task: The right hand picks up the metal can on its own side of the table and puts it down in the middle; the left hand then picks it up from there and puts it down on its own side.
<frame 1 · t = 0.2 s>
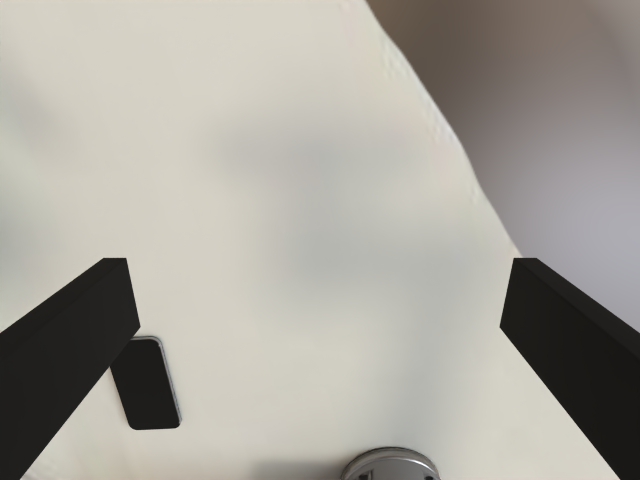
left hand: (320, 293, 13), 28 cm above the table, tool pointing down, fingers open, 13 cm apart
smartphone: (146, 382, 49), on the table
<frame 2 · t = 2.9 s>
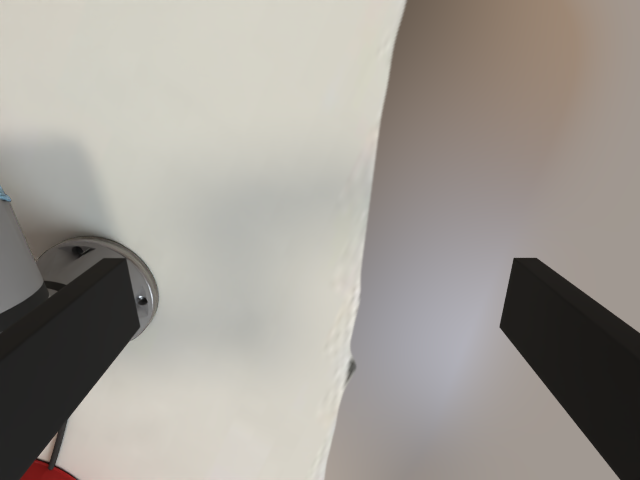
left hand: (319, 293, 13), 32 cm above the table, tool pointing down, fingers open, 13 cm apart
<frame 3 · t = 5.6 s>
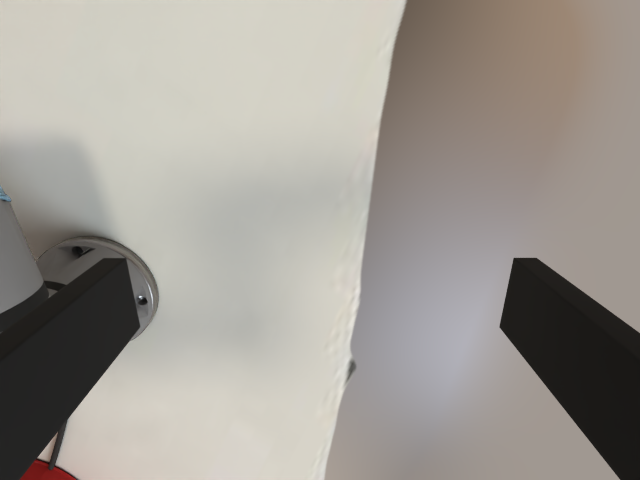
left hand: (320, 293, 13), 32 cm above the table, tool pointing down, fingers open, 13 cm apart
when the right hand's fingers open (5 cm above the table, at t = 8.5 s): can drops 2 cm, on the table.
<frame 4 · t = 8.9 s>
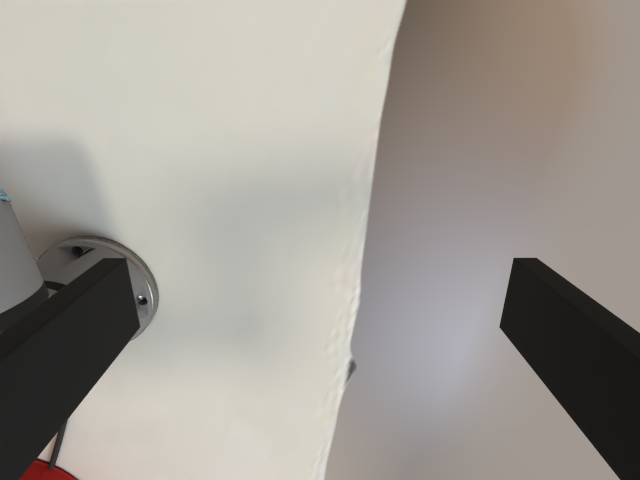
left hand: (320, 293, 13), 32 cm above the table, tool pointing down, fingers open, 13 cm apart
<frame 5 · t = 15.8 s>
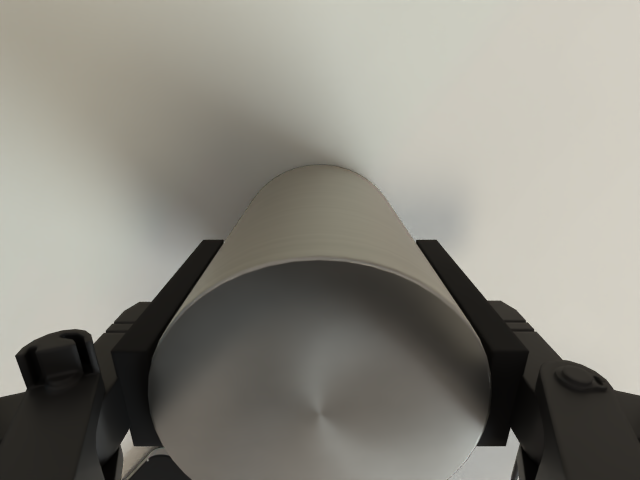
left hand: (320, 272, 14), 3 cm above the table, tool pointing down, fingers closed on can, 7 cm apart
can: (319, 242, 17), on the table, touching left hand
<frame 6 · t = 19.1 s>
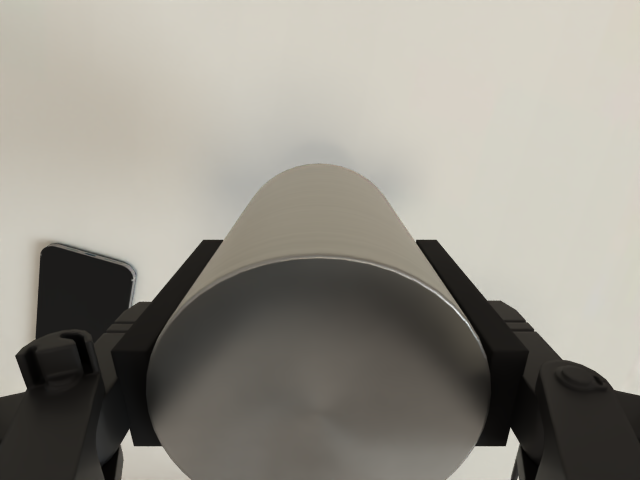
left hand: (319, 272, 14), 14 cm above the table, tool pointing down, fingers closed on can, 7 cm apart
can: (319, 241, 17), point 11 cm above the table, touching left hand
smartphone: (85, 326, 32), on the table
when the left hand's fingers open (5 cm above the table, at t = 22.8 s): can drops 2 cm, on the table.
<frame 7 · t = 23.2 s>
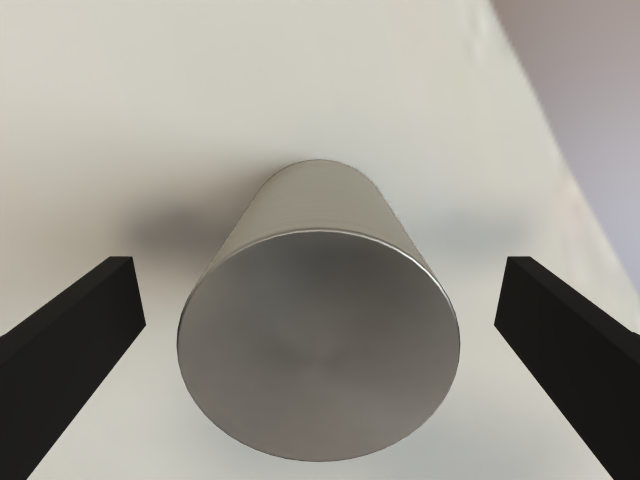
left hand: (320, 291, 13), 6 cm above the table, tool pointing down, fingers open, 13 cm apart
can: (319, 231, 19), on the table
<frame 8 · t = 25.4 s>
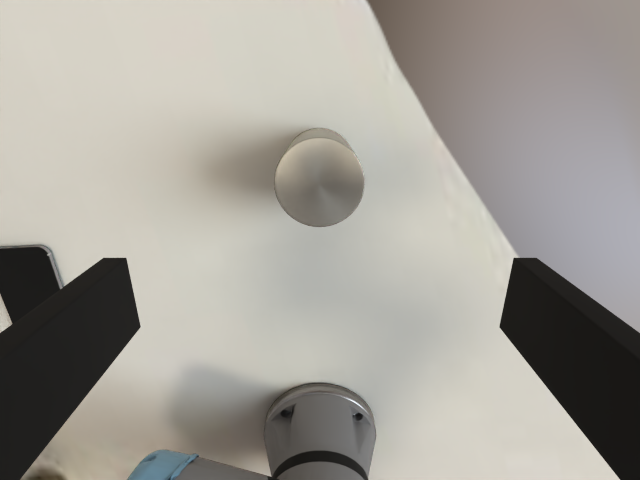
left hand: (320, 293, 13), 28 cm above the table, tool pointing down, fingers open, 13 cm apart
can: (319, 163, 38), on the table
smartphone: (40, 302, 44), on the table
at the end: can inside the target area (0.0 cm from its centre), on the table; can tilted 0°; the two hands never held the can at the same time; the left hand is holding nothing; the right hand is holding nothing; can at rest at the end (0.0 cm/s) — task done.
